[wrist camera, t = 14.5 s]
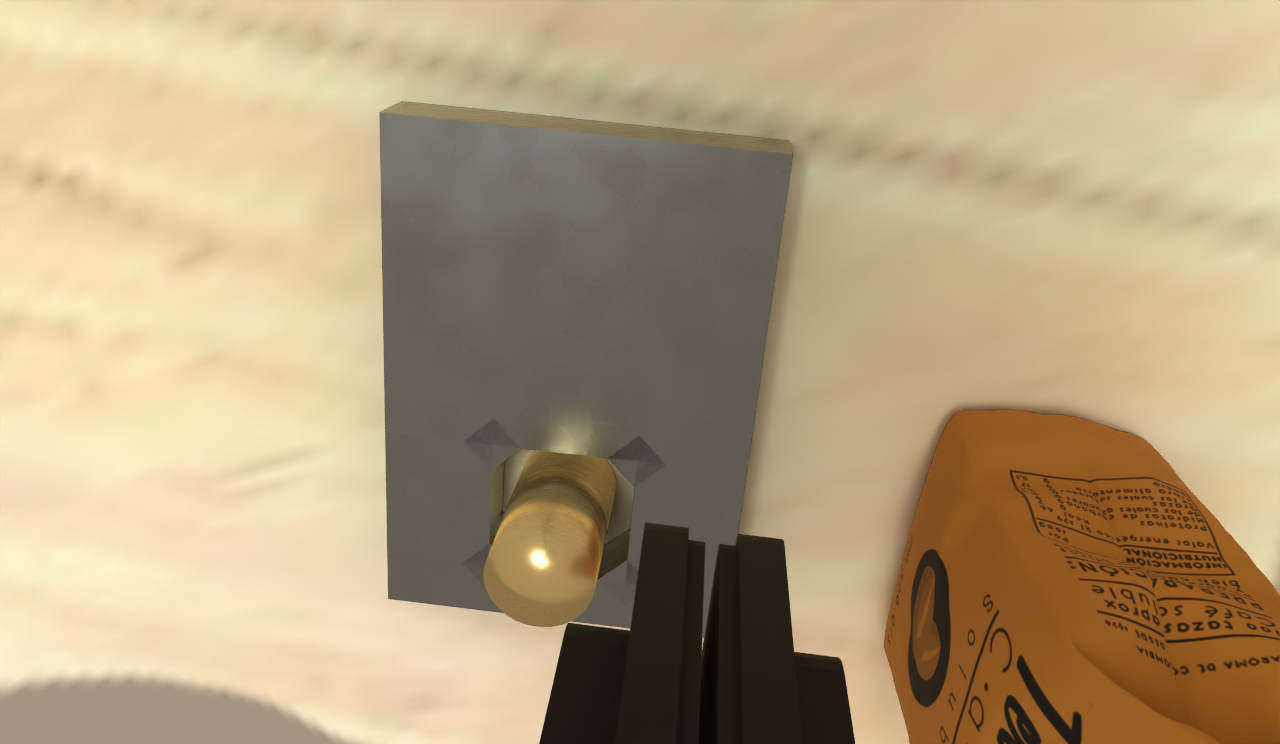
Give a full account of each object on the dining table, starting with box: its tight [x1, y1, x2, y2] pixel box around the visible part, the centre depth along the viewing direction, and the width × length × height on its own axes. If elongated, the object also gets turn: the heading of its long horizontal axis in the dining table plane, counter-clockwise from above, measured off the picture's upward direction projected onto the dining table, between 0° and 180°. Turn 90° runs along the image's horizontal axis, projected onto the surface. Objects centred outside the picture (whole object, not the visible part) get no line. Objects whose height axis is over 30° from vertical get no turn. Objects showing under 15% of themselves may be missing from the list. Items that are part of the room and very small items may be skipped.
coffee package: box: [884, 410, 1280, 744], centre depth 31 cm, size 10×12×22 cm
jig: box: [380, 101, 793, 637], centre depth 39 cm, size 20×14×2 cm
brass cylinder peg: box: [483, 450, 616, 627], centre depth 39 cm, size 4×4×7 cm
